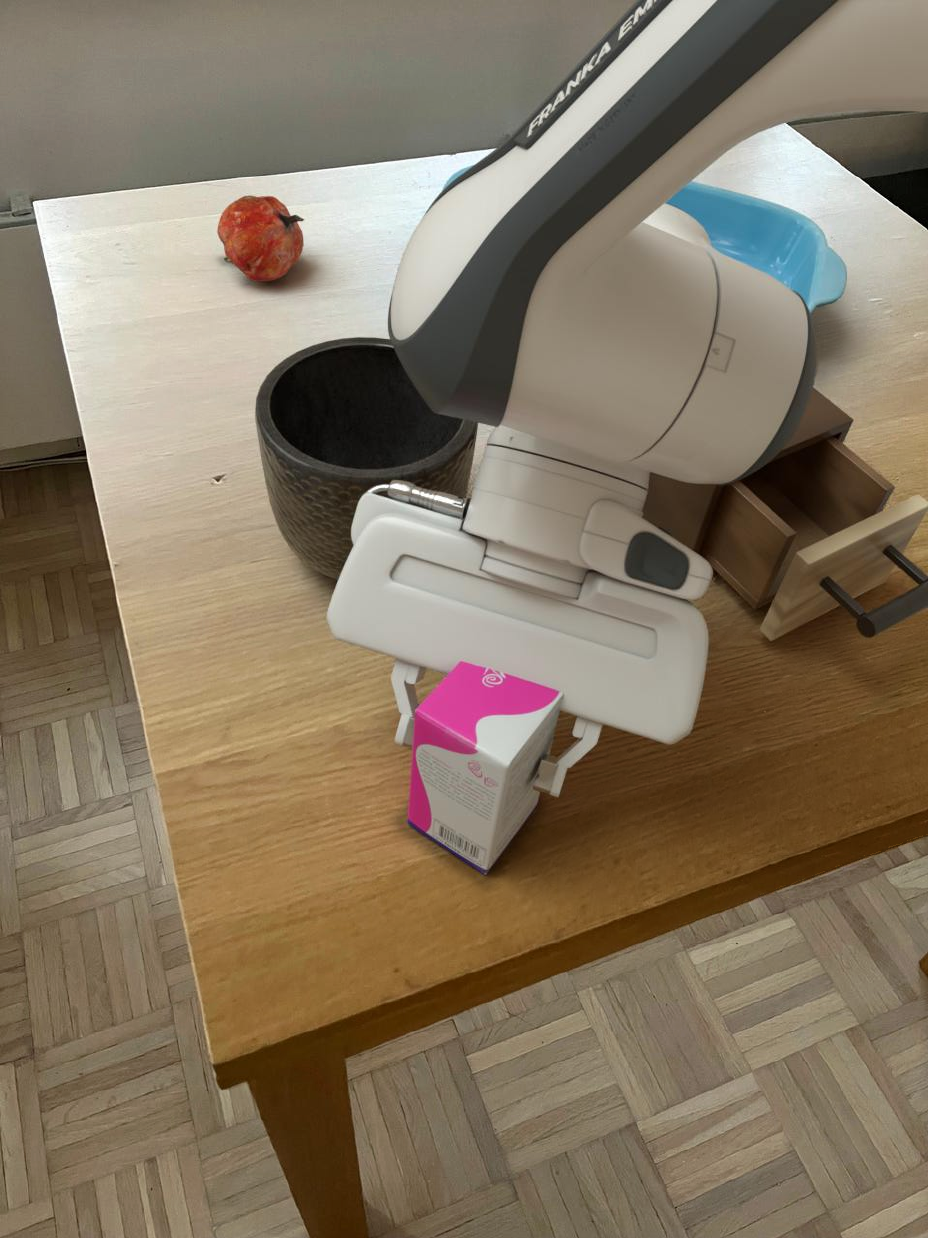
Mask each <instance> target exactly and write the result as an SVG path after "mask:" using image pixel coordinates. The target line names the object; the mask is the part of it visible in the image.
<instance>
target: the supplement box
mask: <svg viewBox="0 0 928 1238" xmlns="http://www.w3.org/2000/svg"><path fill="white" fill-rule="evenodd" d="M563 695H564V694H563V693H562V692H559V691H557V690H555V689H552V688H549V687H546V686H543V685H540V684H537V683H534V682H531V681H527V680H524V679H521V678H518V677H515V676H512V675H508V674H505V673H502V672H499V671H495V670H492V669H488V668H485V667H481V666H477V665H474V664H470V663H466V662H463V661H460V662H459V663H458V664H457V666H456V667H455V668H454V669H453V670H452V671H451V672H450V673H449V674H448V675H447V674H446V676H445V677H444V678H443V679H442V680H441V681H440V682H439V684H437V686H436V687H435V688H434V689H433V690H432V691H431V692H430V693H429V695H428V696H427V697H426V698H425V699H424V700H423V701H422V702H421V703H420V704H418V705H419V707H418V708H417V709H416V710H415V717H414V736H413V749H411V750H412V751H411V764H410V777H409V778H410V779H409V796H408V807H407V818H406V819H407V824H408V826H410V827H411V828H412V829H414V830H415V831H417V832H419V833H420V834H421V835H423V836H425V837H426V838H428V839H429V840H430V841H432V842H434V843H435V844H437V845H438V846H440V847H441V848H442V849H444V850H446V851H448V852H449V853H451V854H452V855H454V856H456V857H457V858H458V859H460V860H461V861H463V862H465V863H466V864H467V865H469V866H471V867H472V868H474V869H475V870H477V872H479V873H481V874H483V875H484V876H486V875H488V873H489V872H490V870H491V869H492V868H493V867H494V866H495V864H496V862H497V861H498V860H499V858H500V857H501V856H502V854H503V853H504V851H506V848H508V846H509V845H510V843H511V842H512V841H513V840H514V838H515V837H516V835H517V834H518V833H519V832H520V830H521V829H522V828H523V826H524V825H525V823H526V822H527V821H528V819H529V818H530V817H531V815H532V814H533V813H534V811H535V810H536V808H537V807H538V802H539V798H540V794H541V792H540V791H537V790H534V789H533V785H534V781H535V778H536V776H537V774H538V768H539V765H540V762H541V759H542V757H543V755H545V754H548V755H550V752H551V750H552V745H553V741H554V737H555V733H556V728H557V725H558V721H559V717H560V712H561V710H558V708H559V705H560V703H561V701H562V698H563Z"/></svg>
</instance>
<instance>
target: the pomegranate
mask: <svg viewBox="0 0 928 1238" xmlns="http://www.w3.org/2000/svg"><path fill="white" fill-rule="evenodd" d="M305 220H306V219H305V218H303V217H300V216H299V215H298V214H292V215H291V213H290V211H289V210H288V208H287V206H286V205H285V204H284V203H283V202H281V201H280V200H279V199H278V198H276V197H275V196H273V195H272V196H271V195H261V196H256V195H251V194H249V195H243V196H242V197H240V198H238V199H236V200H234V201H233V202H232V203H230V204H228V205H227V206H226V208H225V209H224V210H223V211H222V213H221V215H220V218H219V220H218V225H217V230H216V232H217V236H218V238H219V240H220V242H221V243H222V244H223V248H224V249H223V251H224V254H225V257H224V258H223V260H224V262H227V261H228V260H229V262H231V263H232V264H233V266H235V267H236V268H237V269H238V270H239V271H240V272H242V273H243V274H244V275H245V276H246V278H247V279H248V280H251V281H255V282H270V281H276V280H278V279H280V278H282V277H284V276H285V275H286V274H287V273H288V272H289V271H290V269H291V268H292V267H293V266H294V265H295V264H297V262H298V261H299V260H300V257H301V255H302V254H303V249H304V246H305V245H304V234H303V230H302V229H301V227H300V225H299V222H303V221H305Z"/></svg>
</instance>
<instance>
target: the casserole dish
mask: <svg viewBox="0 0 928 1238" xmlns="http://www.w3.org/2000/svg"><path fill="white" fill-rule="evenodd" d="M474 165H475V164H472V165H470V166H466V167H464V168H461V169H459V170H458V171H456V172H455V173H453V174H452V175H451V176H450V177H449V178H448V179H447V181H446V182H445V183H444V185H443V187H442V190H441V192H442V191H443V190H444V189H445V188H446V187H447V186H448V185H449V184H450V183H451V182H452V181H454V180H455V179H456V178H457V177H459V176H460V175H461V174H463V173H464V172H465V171H467V170H468V169H470V168H471V167H472V166H474ZM666 203H668V204H670V205H673V206H675V207H677V208H679V209H681V210H683V211H685V212H686V213H688V214H689V215H690V216H692V217H693V218H694V219H695V220H696V221H698V222H699V223H700V225H701V226H702V227H703V228H704V229H705V231H706V232H707V234H708V236H709V238H710V241H711V246H712V247H713V248H714V249H716V250H717V251H719V252H720V253H722V254H724V255H726V256H728V257H730V258H733V259H735V260H737V261H740V262H742V263H744V264H746V265H749V266H751V267H753V268H755V269H757V270H760V271H762V272H764V273H766V274H768V275H770V276H772V277H774V278H775V279H777V280H778V281H780V282H781V283H783V284H784V285H785V286H787V287H788V288H789V289H791V290H793V291H796V292H797V293H799V294H800V295H801V296H802V298H803V299H804V301H805V303H806V305H807V307H808V309H809V311H810V314H811V315H812V314H813V312H814V311H815V310H816V309H817V308H821V307H826V306H829V305H831V304H834V303H836V302H837V301H839V300H840V299H841V298H842V297H843V295H844V293H845V291H846V287H847V281H848V269H847V265H846V263H845V261H844V260H843V258H842V257H841V256H840V255H839V254H838V253H837V252H836V251H834V249H833V248H831V247H830V246H829V245H828V241H827V238H826V235H825V233H824V232H823V229H822V228H821V227H820V226H819V225H818V224H817V223H816V222H814V221H813V220H812V219H810V218H809V217H808V216H806V215H804V214H803V213H801V212H799V211H796V210H794V209H792V208H790V207H786V206H784V205H781V204H779V203H776V202H772V201H769V200H766V199H762V198H759V197H755V196H752V195H750V194H749V195H748V194H745V193H741V192H737V191H733V190H729V189H724V188H720V187H717V186H714V185H713V186H712V185H709V184H705V183H700V182H697V181H694V180H692V181H691V182H690V183H688V184H687V185H686V186H685V187H684V188H682V189H681V190H680V191H679V192H678V193H676V194H675V195H674V196H673V197H672V198H670V199H669V200H668V201H667V202H666Z"/></svg>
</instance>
